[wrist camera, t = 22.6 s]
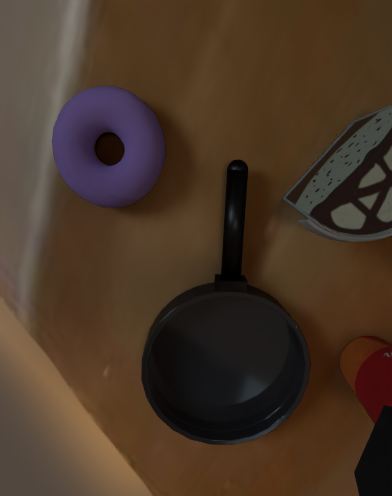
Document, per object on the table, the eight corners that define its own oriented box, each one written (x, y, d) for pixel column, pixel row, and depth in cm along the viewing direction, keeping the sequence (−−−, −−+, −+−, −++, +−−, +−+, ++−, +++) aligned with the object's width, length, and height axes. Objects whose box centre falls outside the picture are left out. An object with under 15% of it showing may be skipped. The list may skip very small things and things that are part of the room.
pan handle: (221, 159, 32) (223, 158, 30) (252, 160, 32) (256, 159, 30) (214, 286, 34) (215, 293, 32) (243, 287, 34) (246, 294, 32)
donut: (45, 97, 31) (34, 82, 26) (152, 90, 33) (159, 75, 28) (67, 212, 33) (60, 217, 28) (166, 199, 35) (175, 202, 30)
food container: (316, 251, 35) (368, 283, 25) (271, 210, 34) (307, 225, 24) (410, 154, 33) (505, 146, 23) (365, 107, 32) (445, 78, 22)
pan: (145, 279, 35) (142, 288, 32) (307, 283, 35) (318, 294, 32) (144, 422, 38) (140, 443, 35) (292, 424, 39) (300, 445, 36)
